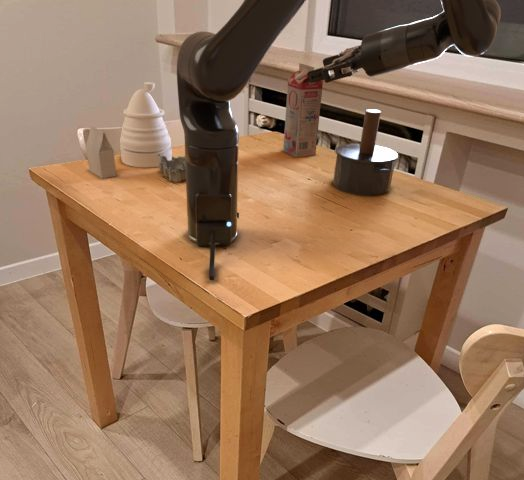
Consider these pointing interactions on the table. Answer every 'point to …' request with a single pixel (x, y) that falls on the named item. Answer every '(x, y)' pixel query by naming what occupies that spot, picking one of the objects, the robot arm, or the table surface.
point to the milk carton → (302, 113)
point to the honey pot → (144, 131)
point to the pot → (362, 177)
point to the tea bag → (100, 154)
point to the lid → (368, 144)
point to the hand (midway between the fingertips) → (316, 70)
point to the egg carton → (173, 168)
